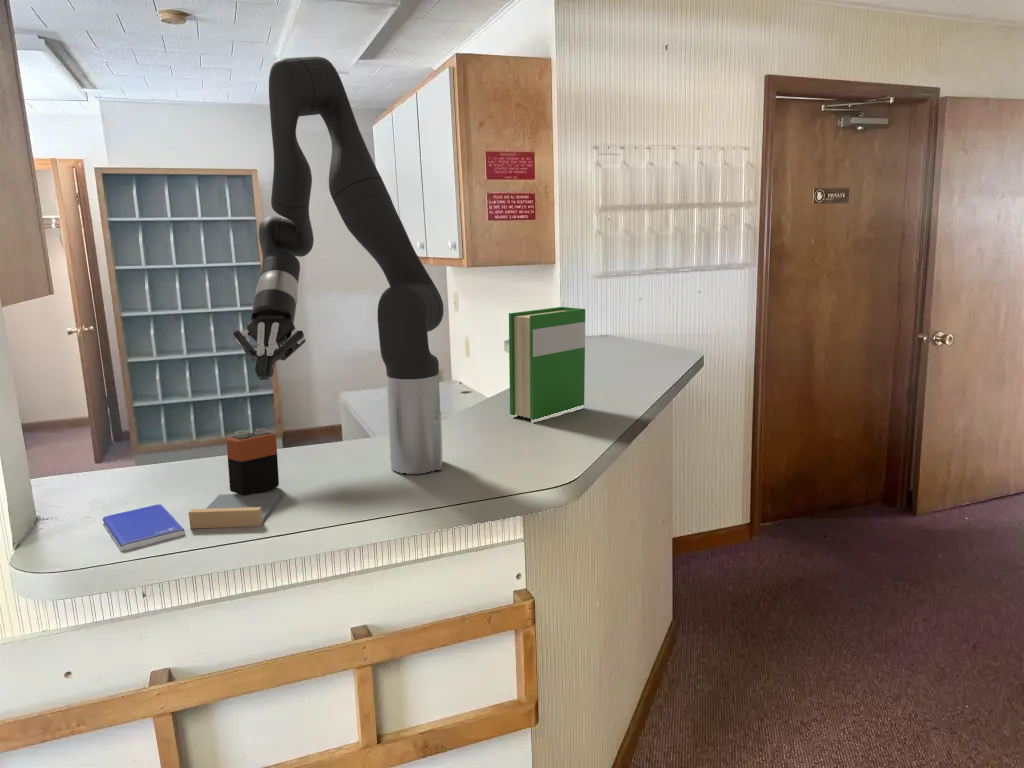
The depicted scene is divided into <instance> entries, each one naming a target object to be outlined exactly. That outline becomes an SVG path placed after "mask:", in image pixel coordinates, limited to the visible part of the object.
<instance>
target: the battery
mask: <svg viewBox="0 0 1024 768" xmlns="http://www.w3.org/2000/svg"><path fill="white" fill-rule="evenodd" d="M234 435H235V436H230V437H227V438H226V452H227V467H228V468H227V469H228V478H229V479H228V480H229V482H228V483H229V491H230V492H232V493H234V494H242V495H248V494H256V493H260V492H264V491H266V490H269V489H274V488H277V487H279V485H280V481H279V480H280V479H279V478H280V475H279V464H278V445H277V435H276V434H275V433H273V432H267V429H266V428H265V427H264V428H256V429H255V432H250V430H238V431H235V432H234Z"/></svg>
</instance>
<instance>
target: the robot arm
mask: <svg viewBox="0 0 1024 768" xmlns="http://www.w3.org/2000/svg"><path fill="white" fill-rule="evenodd" d="M268 102H269V103H268V104H269V113H270V114H269V115H270V128H271V136H272V137H271V138H272V139H271V140H272V151H273V175H272V184H271V199H270V203H271V205H270V206H271V209H272V210H273V211H274V212H275V213H276V214H278V215H279V216H281V217H279V216H274V215H273V216H272V215H270V216H267V217H265V218H264V219H262V221H261V222H260V224H259V226H258V240H259V246H260V249H261V255H262V262H261V263H262V264H261V270H260V276H259V279H258V282H257V284H256V289H255V294H254V295H255V296H254V300H253V306H252V311H251V317H250V321H249V322H248V324H247V325H246V328H245V329H244V330H241V331H239V330H235V331H234V332H233V336H234V339H235V341H236V343H237V344H238V345H239V346H240V348H241V349H242V351H243V352H244V353H245V354H246V355H247V357H248V358H249V360H251V361H252V362H253V361H255V368H254V372H255V374H256V377H257V378H259V380H260V381H269V380H270V378H273V376H274V371H275V367H276V366H275V364H276V362H278V361H286V360H287V359H288V358H289V357H290V356H292V355H293V354H294V353H295V352H296V351H297V350H298V349H299V348H300V347H302V346H303V344H305V342H306V337H305V335H304V332H303V331H302V330H298V329H296V327H295V324H294V323H295V316H296V310H297V304H298V301H299V299H298V294H299V292H298V290H299V287H298V286H299V281H300V280H299V279H300V271H301V264H300V261H299V259H298V258H299V257H301V258H302V257H305V256H307V255H308V254H309V253H310V252H311V251H312V249H313V247H314V241H315V240H314V232H313V228H312V224H311V223H312V221H311V218H310V199H311V194H312V193H311V192H312V183H313V175H312V169H311V166H310V164H309V162H308V160H307V158H306V156H305V154H304V152H303V150H302V149H301V146H300V143H299V142H298V138H297V125H298V120H299V117H307V116H308V117H309V116H315V115H320V117H321V118H322V120H323V121H324V124H325V126H326V129H327V131H328V134H329V137H330V141H331V157H330V158H331V159H330V164H329V165H330V166H329V173H328V190H329V193H330V196H331V198H332V201H333V203H334V205H335V207H336V209H337V212H338V214H339V216H340V218H341V219H342V222H343V223H344V225H345V226H346V228H347V230H348V231H349V232H350V234H351V235H352V236H353V237H354V239H355V240H356V241H357V242H358V243H359V244H360V245H361V246H362V247H363V248H364V249H365V250H366V251H367V253H368V254H369V255H370V256H371V257H372V259H374V260H375V262H376V263H377V264H378V265H379V267H380V269H381V270H382V272H383V274H384V276H385V278H386V281H387V282H388V285H389V287H388V288H386V289H385V290H384V291H383V292H382V294H381V296H380V297H379V300H378V304H377V326H378V329H377V330H378V338H379V340H378V341H379V348H380V356H381V359H382V362H383V363H384V366H385V369H386V372H385V373H386V391H387V392H386V393H387V410H388V411H387V413H388V427H389V428H388V431H389V433H388V434H389V449H390V451H389V452H390V453H389V455H390V457H389V458H390V466H391V467H390V468H391V470H392V471H394V472H395V471H396V473H398V472H399V474H403V473H406V474H405V475H421V474H422V473H423V474H428V473H427V472H429V473H432V472H435V471H434V470H441V469H443V461H442V460H443V457H444V455H443V429H442V428H443V427H442V412H441V398H440V397H441V395H440V366H439V364H440V363H439V359H438V357H437V356H436V355H434V354H432V352H431V351H430V346H429V337H428V332H431V331H433V330H435V329H436V328H438V327H439V326H440V324H441V323H442V320H443V318H444V317H443V316H444V311H445V310H444V302H443V299H442V296H441V294H440V292H439V289H438V288H437V287H436V285H435V283H434V281H433V280H432V278H431V275H430V274H429V273H428V272H427V270H426V268H425V266H424V265H423V263H422V261H421V260H420V258H419V256H418V254H417V252H416V251H415V249H414V247H413V245H412V242H411V240H410V237H409V236H408V233H407V231H406V228H405V226H404V225H403V222H402V219H401V218H400V216H399V213H398V212H397V209H396V207H395V205H394V202H393V199H392V198H391V196H390V193H389V191H388V189H387V187H386V185H385V183H384V181H383V178H382V176H381V174H380V172H379V171H378V169H377V167H376V164H375V163H374V160H373V158H372V156H371V154H370V151H369V148H368V147H367V144H366V142H365V139H364V138H363V135H362V133H361V130H360V128H359V126H358V123H357V121H356V120H357V119H356V118H355V114H354V111H353V109H352V106H351V103H350V100H349V98H348V94H347V92H346V90H345V86H344V84H343V82H342V79H341V77H340V75H339V73H338V70H337V69H336V67H335V66H334V64H333V63H332V62H331V61H330V60H329V59H328V58H325V57H323V56H297V57H295V56H294V57H285V58H284V57H283V58H279V59H276V60H275V61H274V62H273V63H272V65H271V68H270V71H269V75H268ZM297 257H298V258H297ZM250 337H251V338H252V339H253V341H254V342H255V344H256V345H257V347H256V349H254V347H253V346H252V345H251V343H250ZM431 471H432V472H431ZM441 471H442V470H441Z"/></svg>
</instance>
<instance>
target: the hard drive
mask: <svg viewBox="0 0 1024 768" xmlns="http://www.w3.org/2000/svg"><path fill="white" fill-rule="evenodd" d="M103 522H104V524H105V525H104V524H103V525H104V527H105V526H106V527H105V528H106V530H107V529H108V530H107V532H108V531H109V532H110V533H109V532H108V533H109V535H110V536H111V535H112V536H111V537H113V538H112V539H113V540H115V541H114V542H115V544H116V545H117V546H118V548H119V550H120V551H121V552H124V551H127V550H130V549H131V550H132V549H136V548H139V547H143V546H147V545H150V543H151V544H154V542H155V543H159V542H161V541H165V539H166V540H170V539H174V538H177V537H181V536H184V535H186V531H185V528H184V527H183V526H182V525H181V524H180V523H179V522H178V521H177V520H176V519H175V518H174V517H173V516H172V515H171V513H170V512H169V511H168V510H167V509H166V507H164V506H163V505H162V504H159V503H158V504H154V505H149V506H145V507H139V508H136V509H132V510H128V511H122V512H119V513H114V514H109V515H106V516H104V517H103V518H102V523H103ZM135 547H136V548H135ZM123 550H124V551H123Z"/></svg>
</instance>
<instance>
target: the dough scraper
mask: <svg viewBox="0 0 1024 768" xmlns="http://www.w3.org/2000/svg"><path fill="white" fill-rule="evenodd" d="M282 496H283V493H282V492H266V493H265V492H262V493H261V492H255V493H252V494H248V495H242V494H238V493H233V494H232V493H231V494H230V493H229V494H226V493H225V494H218V495H217V496H216V497H215V498H214V500H212V502H210V503H209V505H208V506H207V507H205V508H192V509H190V510H189V511H188V520H189V528H190V529H216V528H217V529H218V528H245V527H247V528H248V527H249V528H250V527H261V526H262V524H263V523H264V521H266V519H267V518H268V516H269V514H270V513H271V512H272V510H273V509H274V507H276V505H277V503H278V502H279V500H280V499H281V497H282Z"/></svg>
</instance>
